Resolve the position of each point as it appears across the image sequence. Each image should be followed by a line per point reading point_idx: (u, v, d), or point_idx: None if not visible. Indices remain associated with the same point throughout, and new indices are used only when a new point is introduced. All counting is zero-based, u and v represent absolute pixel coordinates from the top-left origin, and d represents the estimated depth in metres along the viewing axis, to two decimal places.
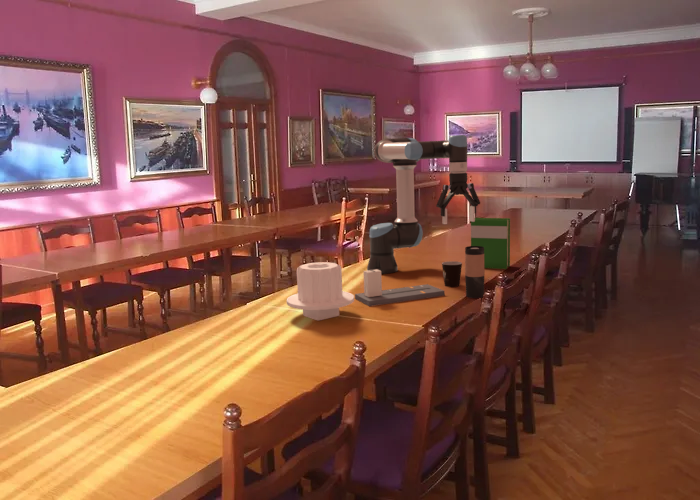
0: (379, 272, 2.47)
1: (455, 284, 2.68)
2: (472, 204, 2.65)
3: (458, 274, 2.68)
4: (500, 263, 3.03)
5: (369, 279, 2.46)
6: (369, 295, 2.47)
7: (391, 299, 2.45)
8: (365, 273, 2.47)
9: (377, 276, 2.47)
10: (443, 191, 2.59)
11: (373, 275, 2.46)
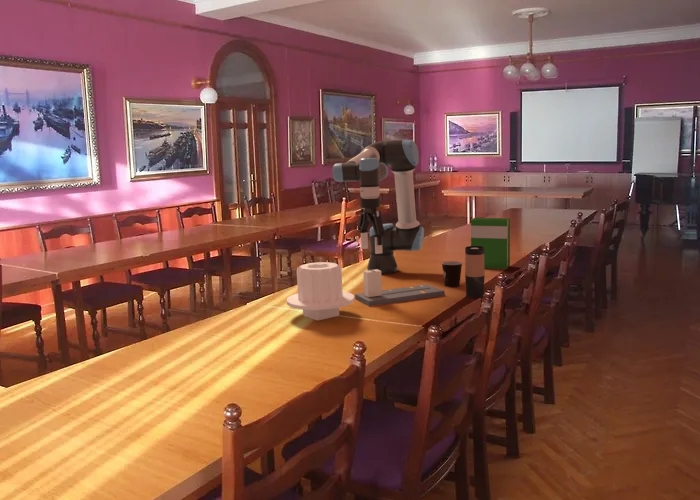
0: (379, 272, 2.47)
1: (455, 284, 2.68)
2: None
3: (458, 274, 2.68)
4: (500, 263, 3.03)
5: (369, 279, 2.46)
6: (369, 295, 2.47)
7: (391, 299, 2.45)
8: (365, 273, 2.47)
9: (377, 276, 2.47)
10: None
11: (373, 275, 2.46)
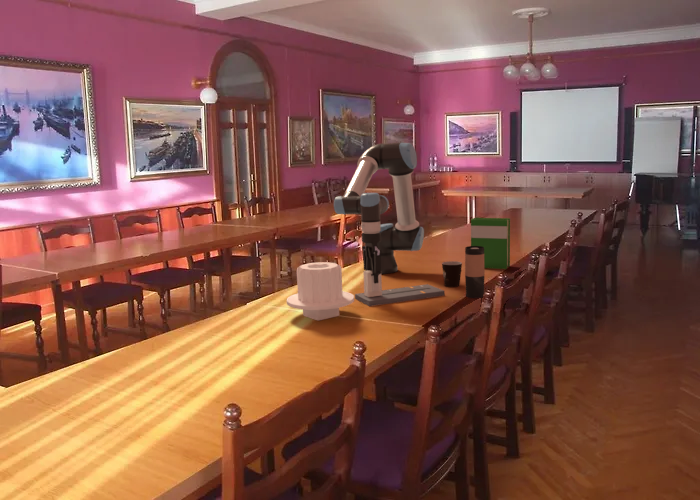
0: None
1: (455, 284, 2.68)
2: None
3: (458, 274, 2.68)
4: (500, 263, 3.03)
5: (369, 279, 2.46)
6: (369, 295, 2.47)
7: (391, 299, 2.45)
8: (365, 273, 2.47)
9: None
10: None
11: None
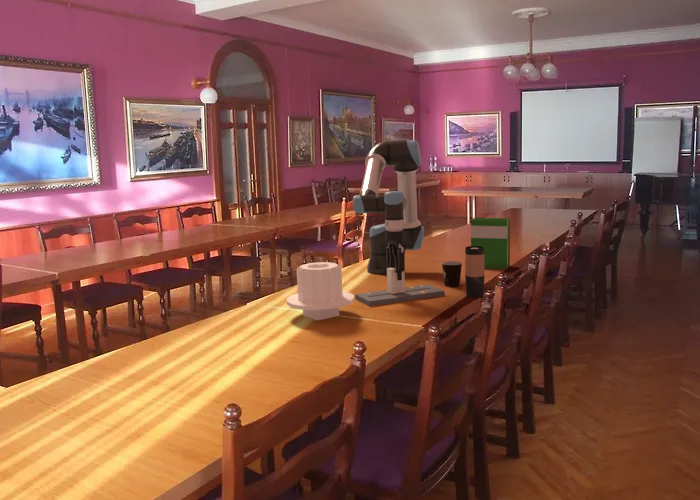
0: None
1: (455, 284, 2.68)
2: None
3: (458, 274, 2.68)
4: (500, 263, 3.03)
5: (392, 276, 2.50)
6: (392, 292, 2.51)
7: (391, 299, 2.45)
8: (388, 270, 2.51)
9: None
10: None
11: None
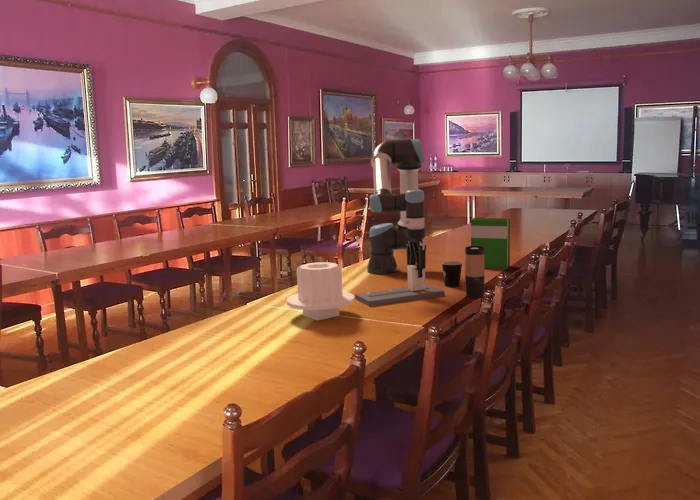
0: None
1: (455, 284, 2.68)
2: None
3: (458, 274, 2.68)
4: (500, 263, 3.03)
5: (413, 273, 2.53)
6: (413, 289, 2.54)
7: (391, 299, 2.45)
8: (409, 268, 2.54)
9: None
10: None
11: None
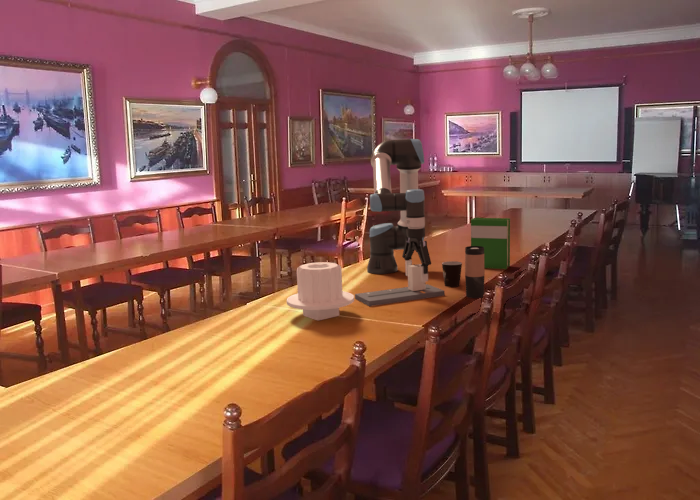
0: None
1: (455, 284, 2.68)
2: None
3: (458, 274, 2.68)
4: (500, 263, 3.03)
5: (414, 273, 2.53)
6: (413, 289, 2.54)
7: (391, 299, 2.45)
8: (409, 268, 2.55)
9: None
10: None
11: (417, 270, 2.54)
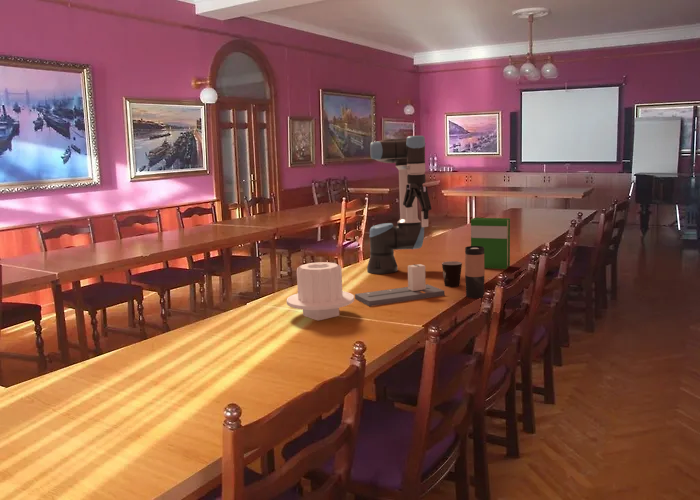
0: (423, 267, 2.55)
1: (455, 284, 2.68)
2: None
3: (458, 274, 2.68)
4: (500, 263, 3.03)
5: (414, 273, 2.53)
6: (413, 289, 2.54)
7: (391, 299, 2.45)
8: (409, 268, 2.55)
9: (421, 270, 2.54)
10: None
11: (417, 270, 2.54)
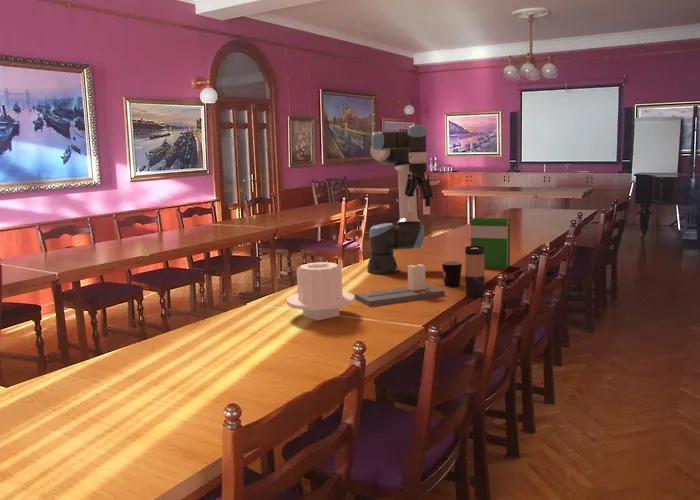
0: (423, 267, 2.55)
1: (455, 284, 2.68)
2: None
3: (458, 274, 2.68)
4: (500, 263, 3.03)
5: (414, 273, 2.53)
6: (413, 289, 2.54)
7: (391, 299, 2.45)
8: (409, 268, 2.55)
9: (421, 270, 2.54)
10: None
11: (417, 270, 2.54)
